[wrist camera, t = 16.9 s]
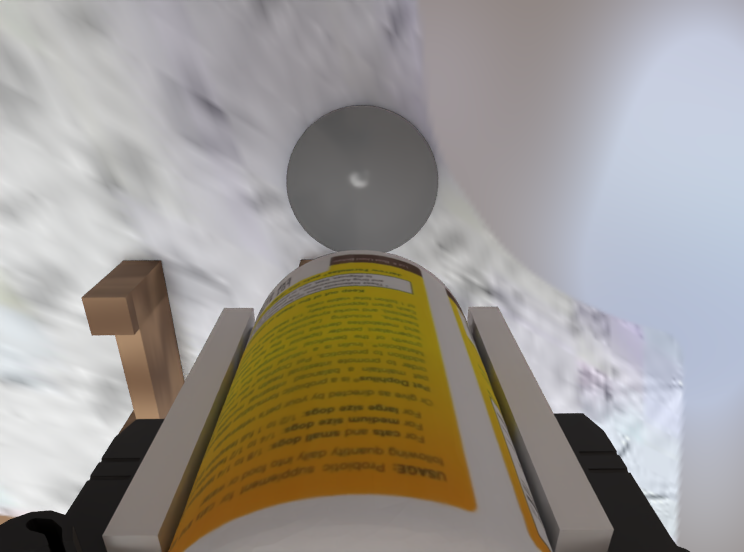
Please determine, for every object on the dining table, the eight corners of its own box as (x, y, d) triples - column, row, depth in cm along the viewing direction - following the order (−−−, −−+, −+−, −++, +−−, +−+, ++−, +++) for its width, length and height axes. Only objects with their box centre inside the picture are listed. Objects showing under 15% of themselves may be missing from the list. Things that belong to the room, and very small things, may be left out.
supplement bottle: (215, 341, 13) (-130, 1030, 4) (357, 195, 12) (332, 795, 2) (365, 448, 15) (367, 1105, 6) (507, 334, 13) (836, 1000, 4)
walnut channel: (123, 260, 32) (81, 297, 27) (338, 259, 32) (333, 296, 27) (156, 409, 37) (126, 462, 32) (342, 407, 37) (339, 460, 32)
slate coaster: (282, 105, 28) (280, 106, 27) (441, 105, 28) (442, 106, 27) (292, 252, 32) (291, 256, 31) (432, 252, 32) (433, 255, 31)
